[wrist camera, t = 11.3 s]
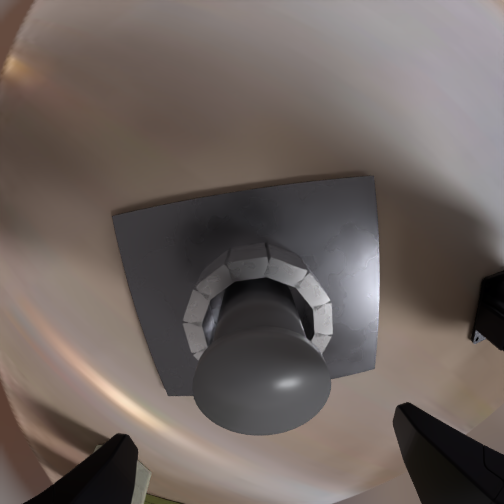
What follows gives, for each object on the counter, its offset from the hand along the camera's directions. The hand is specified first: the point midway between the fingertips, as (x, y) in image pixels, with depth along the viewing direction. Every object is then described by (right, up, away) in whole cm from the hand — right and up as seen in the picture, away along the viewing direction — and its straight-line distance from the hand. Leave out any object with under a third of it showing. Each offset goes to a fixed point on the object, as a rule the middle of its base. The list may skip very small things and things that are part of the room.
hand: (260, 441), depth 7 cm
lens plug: (0, +3, +10) cm, 10 cm away
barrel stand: (0, +3, +11) cm, 11 cm away
